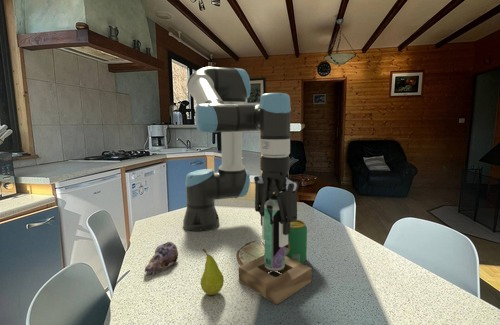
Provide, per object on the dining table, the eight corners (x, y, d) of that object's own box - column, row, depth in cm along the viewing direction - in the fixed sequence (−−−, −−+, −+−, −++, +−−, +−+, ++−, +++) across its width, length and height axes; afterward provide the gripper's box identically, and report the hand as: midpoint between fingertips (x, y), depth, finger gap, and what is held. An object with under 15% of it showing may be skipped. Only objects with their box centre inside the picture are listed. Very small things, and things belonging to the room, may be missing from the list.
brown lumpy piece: (153, 279, 76) (152, 259, 75) (135, 272, 79) (133, 253, 78) (183, 260, 86) (182, 242, 85) (166, 255, 90) (164, 237, 89)
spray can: (283, 271, 70) (284, 197, 67) (263, 269, 71) (262, 196, 69) (285, 261, 76) (286, 191, 73) (266, 259, 77) (265, 190, 74)
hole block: (238, 280, 75) (238, 266, 74) (273, 262, 84) (273, 250, 83) (276, 305, 64) (276, 289, 64) (311, 281, 74) (311, 268, 73)
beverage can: (276, 256, 88) (276, 221, 86) (297, 251, 91) (297, 217, 89) (289, 268, 81) (289, 230, 79) (311, 262, 84) (312, 225, 82)
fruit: (227, 295, 68) (226, 250, 67) (206, 303, 65) (204, 256, 64) (217, 283, 73) (216, 241, 71) (197, 291, 70) (195, 247, 68)
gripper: (240, 154, 74) (241, 235, 77) (294, 160, 60) (293, 258, 63) (260, 151, 79) (260, 228, 82) (314, 157, 65) (312, 248, 68)
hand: (274, 241), depth 73 cm, fingers closed on spray can, 5 cm apart
